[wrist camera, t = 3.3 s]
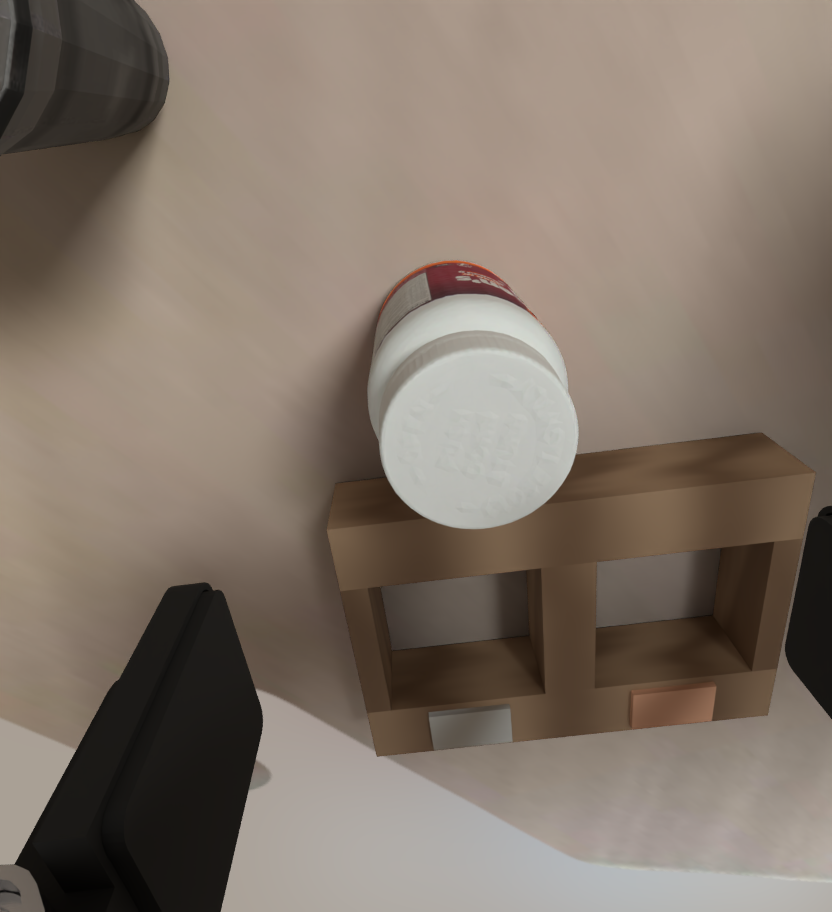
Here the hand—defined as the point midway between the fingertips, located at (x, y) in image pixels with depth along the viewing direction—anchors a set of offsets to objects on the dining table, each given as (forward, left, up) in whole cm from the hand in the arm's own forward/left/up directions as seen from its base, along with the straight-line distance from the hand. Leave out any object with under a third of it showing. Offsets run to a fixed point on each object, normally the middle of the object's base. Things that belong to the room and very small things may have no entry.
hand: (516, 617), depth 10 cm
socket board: (-4, +13, -17) cm, 22 cm away
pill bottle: (0, 0, -18) cm, 18 cm away
